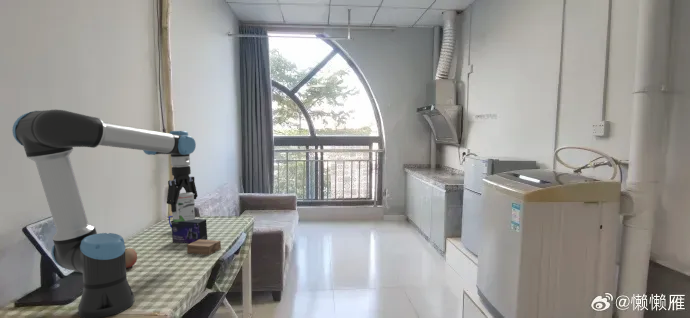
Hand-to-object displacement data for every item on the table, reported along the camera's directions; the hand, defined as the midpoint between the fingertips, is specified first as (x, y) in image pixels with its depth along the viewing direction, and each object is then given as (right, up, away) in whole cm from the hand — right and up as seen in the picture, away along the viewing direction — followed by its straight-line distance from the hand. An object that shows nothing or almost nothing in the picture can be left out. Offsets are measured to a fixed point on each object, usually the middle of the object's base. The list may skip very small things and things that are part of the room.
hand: (183, 216), depth 157 cm
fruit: (-21, -21, -6) cm, 31 cm away
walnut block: (+4, -19, +14) cm, 24 cm away
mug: (-25, -17, +52) cm, 60 cm away
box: (-10, -18, +29) cm, 36 cm away
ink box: (0, -2, 0) cm, 2 cm away
